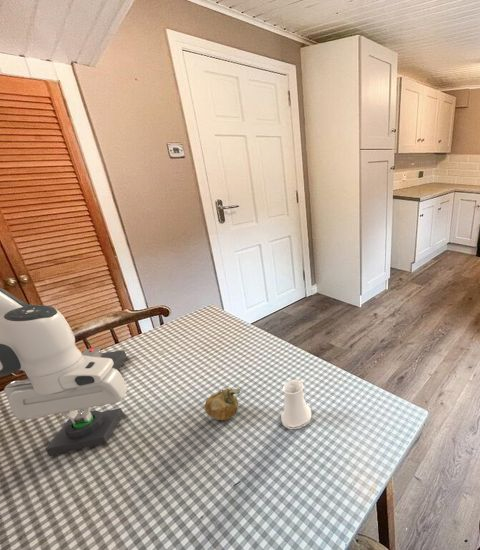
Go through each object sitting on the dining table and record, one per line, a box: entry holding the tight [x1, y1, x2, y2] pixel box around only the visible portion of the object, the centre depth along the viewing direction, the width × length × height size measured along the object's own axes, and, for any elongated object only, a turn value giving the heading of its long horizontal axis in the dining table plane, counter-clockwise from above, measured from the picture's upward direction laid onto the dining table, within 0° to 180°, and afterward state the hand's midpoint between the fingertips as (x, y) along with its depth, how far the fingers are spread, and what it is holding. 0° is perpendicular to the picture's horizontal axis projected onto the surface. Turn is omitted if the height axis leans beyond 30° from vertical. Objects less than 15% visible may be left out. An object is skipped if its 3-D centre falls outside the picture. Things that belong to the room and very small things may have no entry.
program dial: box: [81, 346, 103, 358], centre depth 93 cm, size 4×4×4 cm
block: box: [45, 407, 124, 456], centre depth 73 cm, size 11×9×4 cm
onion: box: [204, 387, 242, 421], centre depth 77 cm, size 8×8×8 cm
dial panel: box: [101, 349, 128, 371], centre depth 94 cm, size 12×10×3 cm
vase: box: [280, 379, 312, 430], centre depth 76 cm, size 8×8×10 cm
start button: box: [73, 416, 94, 429], centre depth 72 cm, size 4×4×2 cm
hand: (83, 420), depth 72 cm, fingers closed, pressing on start button
